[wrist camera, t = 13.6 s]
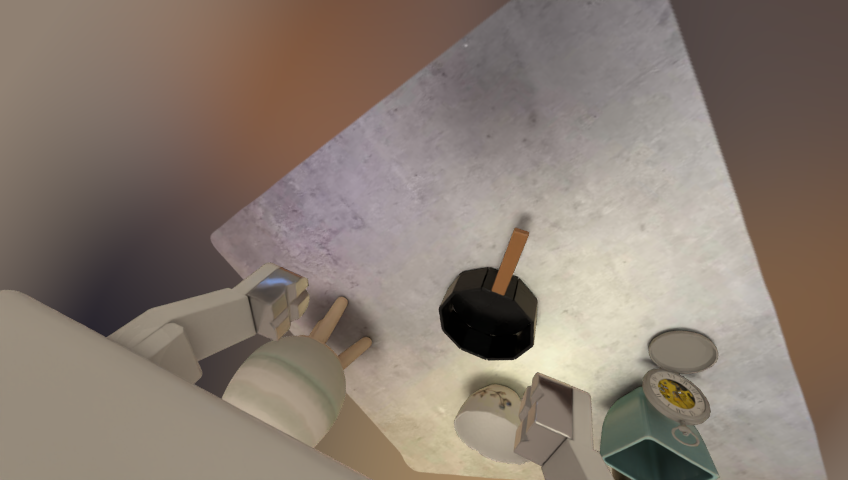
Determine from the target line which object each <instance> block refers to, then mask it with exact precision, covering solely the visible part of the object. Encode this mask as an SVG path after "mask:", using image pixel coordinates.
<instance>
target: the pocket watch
mask: <svg viewBox="0 0 848 480" xmlns="http://www.w3.org/2000/svg"><path fill="white" fill-rule="evenodd" d="M649 355H650V358H651V359H652V361H653V362H654V363H655V364H656V365H658V366H659V367H660V369H652V370H650V371H648V372H647V373H646V374H645V376H644V377H643V382H642V386H643V391H644V393H645V395H646V397H647V399H648V400H649V401H650V403H651V404H652V405H653V406H654V407H655V408H656V409H657V410H658V411H659V412H661V413H662V414H663V415H665V416H666V417H668V418H670V419H672V420H673V421H675V422H678V423H680V425H679V426H678V427H674V428H672V430H671V433H672V435H673V437H674V438H675V439H676V440H678V441H679V442H680V443H682V444H684V445H687V446H698V445H699V444H700V441H699V438H698V437H697V436H696V435H695V434H694V433H693V432H692V431H691V429H690V428H689V427H687V426H686V425H698V424H701V423H703V422H705V421H706V420H707V419H708V418H709V416H710V412H711V410H710V405H709V402H708V401H707V399H706V397H705V396H704V394H703V393H702V392H701V390H700V389H699V388H698V387H696V386H695V385H694V384H693V383H692V382H691V381H689V380H688V379H686V378H685V377H683V376H681V375H680V373H682V374H691V373H698V372H702V371H704V370H706V369H708V368H710V367H712V366H713V365H714V364H715V363H716V362H717V359H718V351H717V348H716V346H715V345H714V344H713V343H712V341H711V340H709V339H708V338H706V337H705V336H703V335H700V334H697V333H694V332H689V331H670V332H667V333H663V334H661V335H659V336H657V337H656V338H654V339H653V340H652V342H651V343H650V345H649ZM661 384H662V385H663V387H664V386H665V387H667V388H668V389H666V388H663V387H661ZM658 387H660V388H662V389H661V390H659V388H658ZM662 390H664V391H665V392H663V391H662ZM675 391H676V392H675ZM678 392H681V394H679V393H678ZM682 393H683V394H682ZM663 395H665V396H663ZM668 396H669V397H670V398H668ZM664 397H665V398H664ZM686 397H687V398H686ZM677 429H679V430H680V431H681V432H683V435H685V436H688V435H689V434H690V433H691V434H692V435H693V436H694V437H695V438H696V443H695V444H687V443H685V442H683V441H681V440H679V439H678V438H677V437H676V435H675V433H674V432H675V430H677Z"/></svg>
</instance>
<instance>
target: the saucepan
mask: <svg viewBox="0 0 848 480" xmlns="http://www.w3.org/2000/svg"><path fill="white" fill-rule="evenodd" d="M528 236H529V232H527V231H524V230H521V229H518V228H514V231H513V234H512V236H511V239H510V242H509V244H508V247H507V250H506V252H505V255H504V258H503V260H502V263H501V266H500V268H499V271H498V270H495V269H492V268H489V269H488V267H487V268H482V269H476V270H471V271H465V272H462V273H461V274H460V275H459V276H458V277H457V278H456V280H455V281H454V282H453V283H452V284H451V286H450V287H449V288H448V290H447V292H446V294H445V296H444V298H443V300H442V303H441V305H440V307H439V315H440V321H441V327H442V330H443V332H444V333H445V334H446V335H447V336H448V337H449V338H450V339H451V340H452V341H453V342H454V343H455V344H456V345H457V346H458V348H459V349H460V348H461V350H463V351H465V352H468V353H470V354H473V355H475V356H477V357H480V358H482V359H485V360H514V359H517V358H518V357H519V356H521V355H522V354H523V353H525V352H526V351H527V350H529V349H530V348H532V347H533V345H534V339H535V331H536V323H537V299H536V297H535V296H534V295H533V294H532V293H531V292H530V290H529V289H528V288H527V287H526V286H525V285H524V283H523V282H522V281H521V280H520V279H518V277H515V276H512V275H513V273H514V270H515V268H516V265H517V263H518V260H519V258H520V256H521V253H522V251H523V248H524V246H525V243H526V241H527V238H528ZM453 307H454V309H455V311H456V312H457V313H456V312H455V311H454V309H453ZM530 323H531V324H530ZM467 324H468V325H469V326H468V325H467ZM529 324H530V325H529ZM470 326H471V327H470ZM520 331H521V332H520ZM518 332H520V333H518ZM516 333H518V334H516ZM513 334H514V335H513ZM492 335H496V336H492Z"/></svg>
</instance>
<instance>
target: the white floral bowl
mask: <svg viewBox="0 0 848 480" xmlns="http://www.w3.org/2000/svg"><path fill="white" fill-rule="evenodd" d="M520 404H521V399H520V398H519V396H518V395H517V393H516V392H515V391H513V390H512V389H510V388H508V387H506V386H503V385H497V384H492V385H488V386H487V387H485V388H482V389H480V390H478V391H476V392H475V393H473V394H472V395H471V396H470V397H469V398H468V399H467V400H466V401H465V402H464V404H463V405H462V407H461V409H460V410H459V412H458V414H457V416H456V418H455V420H454V428H455V431H456V433H457V436H458V437H459V438H460V439H461V441H462V442H464V443H465V444H466V445H467V446H468V447H470V448H471V449H472V450H476V451H478V452H479V453H480V454H481V455H483V456H484V457H486V458H488V459H491V460H493V461H496V462H503V463H507V464H519V465H521V464H524V463H526V462H527V463H528V462H530V460H528V459H526V458H524V457H522V456H520V455H518V454H516V453H514V452H513V451H514V443H515V436H516V430H517V428H518V427H519V425H520V424H521V421H520V419H519V416H518V415H519V409H520Z"/></svg>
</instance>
